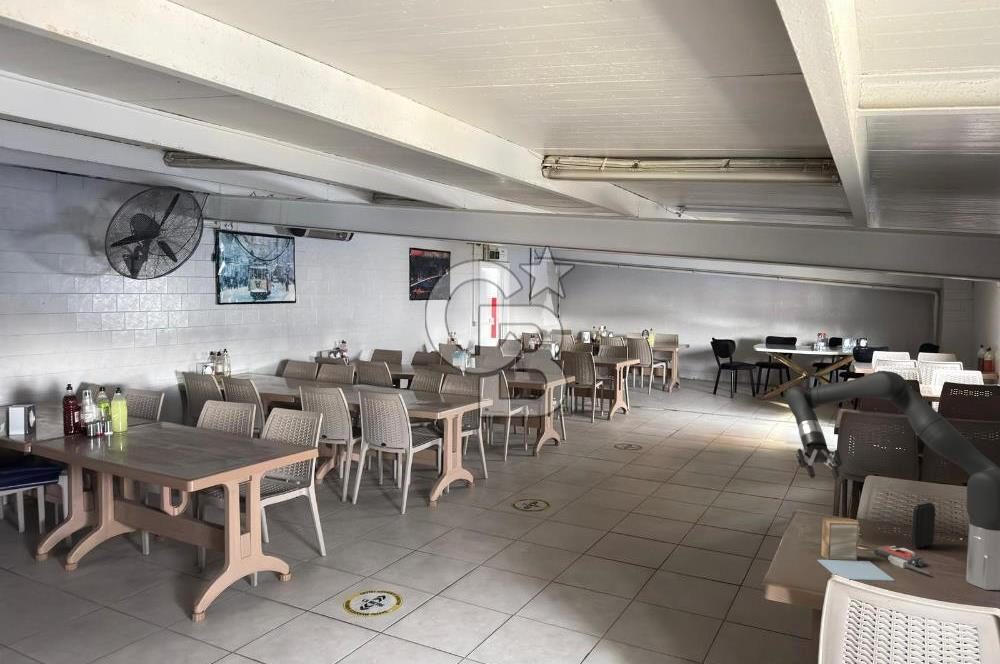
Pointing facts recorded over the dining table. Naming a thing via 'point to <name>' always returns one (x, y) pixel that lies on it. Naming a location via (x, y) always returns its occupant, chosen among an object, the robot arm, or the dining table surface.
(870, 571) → the mat
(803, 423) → the robot arm
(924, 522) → the carrying case or bag
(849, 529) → the wood grain block
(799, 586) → the dining table surface
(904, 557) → the walkie-talkie
